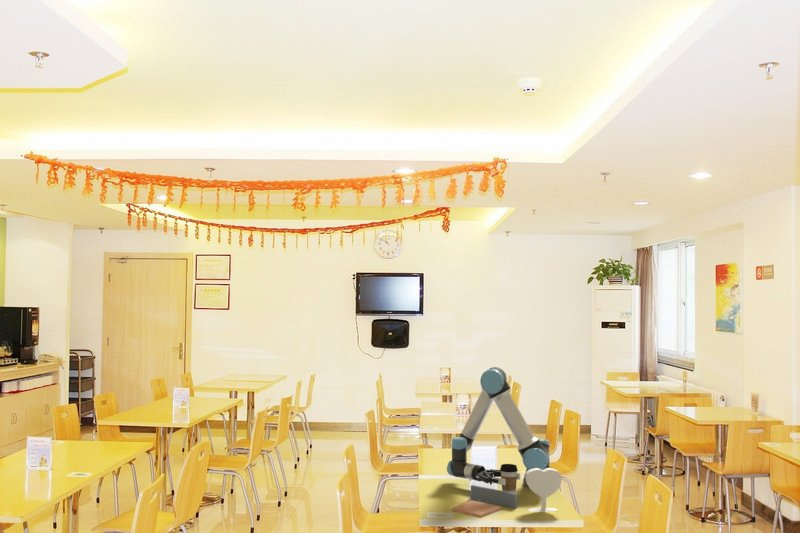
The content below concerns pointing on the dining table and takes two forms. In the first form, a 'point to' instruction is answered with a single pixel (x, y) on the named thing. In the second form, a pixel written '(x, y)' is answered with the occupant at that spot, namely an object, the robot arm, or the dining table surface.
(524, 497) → the dining table surface
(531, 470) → the heart sculpture
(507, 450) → the dining table surface
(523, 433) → the robot arm
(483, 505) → the terracotta tile
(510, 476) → the coffee cup
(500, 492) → the gray rectangular board
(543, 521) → the dining table surface
